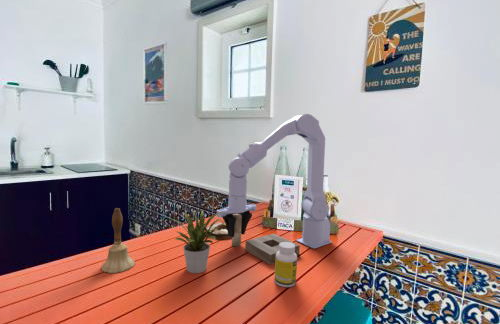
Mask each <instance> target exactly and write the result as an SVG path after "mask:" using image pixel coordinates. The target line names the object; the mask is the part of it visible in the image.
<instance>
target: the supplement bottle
mask: <svg viewBox="0 0 500 324" xmlns="http://www.w3.org/2000/svg"><path fill="white" fill-rule="evenodd" d="M293 243H294V242H293ZM293 243H290V242H281V243H280V244H279V251H278V252H277V253H276V259H275V263H274V283H275V284H276V285H278V287H279V286H280V287H281V288H282V287H283V288H291V287H293V286H295V285H296V284H297V283H296V282H297V268H298V267H297V266H298V255H296V253H295V245H294V244H293Z"/></svg>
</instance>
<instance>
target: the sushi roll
mask: <svg viewBox="0 0 500 324" xmlns="http://www.w3.org/2000/svg"><path fill="white" fill-rule="evenodd" d="M210 226H211V224H210V225H207V227H206V229H205V231H206V230H208V229H209V228H208V227H210ZM218 227H220V228H218ZM215 228H217V229H216V230H215V231H213V232H212V234H211V235H210V236H215V237H216V239H217V240H229V239H232V237H230V236H229V235H228V230H227V227H226V224H225V222H215V223H214V224H213V226H212V227H211V228H210V230H213V229H215ZM205 231H204V232H205ZM210 232H211V231H209V232H208V234H209V233H210ZM208 234H207V235H206V236H208ZM210 236H209V237H210Z"/></svg>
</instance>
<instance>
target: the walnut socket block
mask: <svg viewBox="0 0 500 324" xmlns="http://www.w3.org/2000/svg"><path fill="white" fill-rule="evenodd" d="M281 242H290V243H293V244H294V245H295V253H296V255H297V256H299V255H300V251H301V250H300V245H299V244H298V243H295V242H293V241H290V240H289V239H286V238H284V237H282V236H280V235H279V234H278V235H277V234H275V233H270V234H267V235H263V236H259V237H256V238H252V239H248V240H245V246H244V247H245V249H244V250H245V251H246V252H248V253H250V254H251V255H253V256H255V257H256V258H258V259H260V260H262V261H264V263H266V264H268V265H270V266H271V265H275V259H276V253H277V252H278V251H279V244H280V243H281Z"/></svg>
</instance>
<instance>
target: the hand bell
mask: <svg viewBox="0 0 500 324" xmlns="http://www.w3.org/2000/svg"><path fill="white" fill-rule="evenodd" d="M112 213H113V214H112V216H111V217H112V218H111V225H112V228H113V232H114V233H113V234H114V236H113V237H114V239H113V241H114V242H113V245H111V246H109V248H108V251H107V258H106V260H105V262H104V263H103V264H102V265H101V267H100V270H101V269H102V270H101V271H102V272H103V271H104V273H106V272H107V274H117V273H121V272H126V271H127V270H131V269H132V268H133V267H134V266H135V264H136V262H135V260H134V259H133V258H132V257H130V255H129V251H128V246H127V244H124V243H122V227H123V224H124V223H123V221H124V220H123V215H122V214H123V213H122V211H121V208H120V207H119V208H118V207H115V208H114V210H113V212H112Z"/></svg>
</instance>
